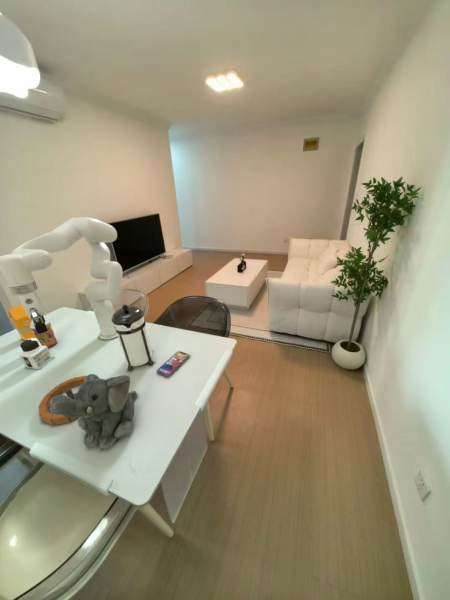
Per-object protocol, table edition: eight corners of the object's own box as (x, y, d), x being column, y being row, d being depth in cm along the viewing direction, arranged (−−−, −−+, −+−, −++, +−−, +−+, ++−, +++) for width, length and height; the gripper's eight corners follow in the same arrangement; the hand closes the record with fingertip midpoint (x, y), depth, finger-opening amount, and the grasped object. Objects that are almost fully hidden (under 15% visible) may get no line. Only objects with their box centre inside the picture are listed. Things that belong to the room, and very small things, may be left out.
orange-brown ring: (93, 374, 102) (91, 368, 100) (107, 400, 88) (105, 395, 87) (39, 400, 90) (35, 395, 89) (46, 435, 76) (42, 430, 75)
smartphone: (156, 372, 100) (178, 352, 112) (169, 377, 97) (190, 356, 108) (156, 370, 100) (178, 350, 111) (168, 375, 96) (190, 354, 108)
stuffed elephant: (82, 471, 66) (43, 407, 54) (82, 416, 83) (53, 357, 71) (148, 437, 74) (128, 375, 62) (136, 393, 90) (119, 337, 79)
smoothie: (39, 351, 119) (22, 319, 110) (42, 343, 126) (26, 312, 117) (58, 346, 122) (42, 314, 113) (60, 338, 129) (45, 307, 120)
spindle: (77, 394, 92) (72, 383, 89) (80, 400, 89) (74, 389, 86) (66, 400, 89) (60, 389, 87) (68, 406, 87) (62, 395, 84)
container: (39, 369, 107) (26, 347, 101) (26, 367, 108) (13, 345, 102) (53, 358, 113) (42, 336, 108) (40, 356, 115) (29, 335, 109)
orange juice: (21, 338, 131) (4, 308, 122) (39, 330, 138) (24, 301, 129) (27, 342, 127) (10, 311, 118) (45, 334, 134) (30, 304, 125)
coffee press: (164, 354, 111) (152, 299, 98) (139, 376, 99) (121, 316, 85) (139, 345, 119) (124, 293, 106) (113, 364, 106) (93, 308, 93)
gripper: (38, 291, 80) (56, 332, 87) (35, 280, 92) (50, 317, 99) (10, 297, 76) (31, 340, 83) (11, 285, 88) (29, 323, 95)
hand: (42, 327), depth 91 cm, fingers open, 9 cm apart
